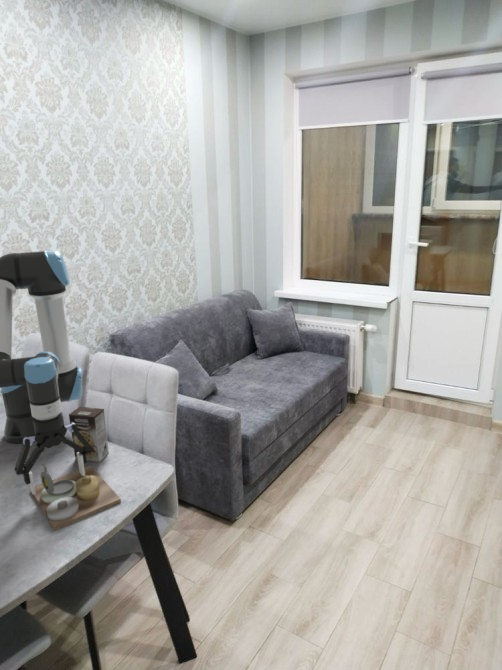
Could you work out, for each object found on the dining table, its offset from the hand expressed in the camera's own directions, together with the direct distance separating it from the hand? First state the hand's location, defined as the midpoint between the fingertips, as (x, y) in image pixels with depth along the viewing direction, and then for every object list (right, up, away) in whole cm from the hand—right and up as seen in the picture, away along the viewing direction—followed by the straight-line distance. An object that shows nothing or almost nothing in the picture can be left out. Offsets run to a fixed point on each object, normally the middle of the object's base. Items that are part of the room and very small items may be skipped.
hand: (58, 482), depth 134 cm
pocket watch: (0, -3, 0) cm, 3 cm away
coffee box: (+2, +2, +22) cm, 22 cm away
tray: (+4, -4, +1) cm, 6 cm away
